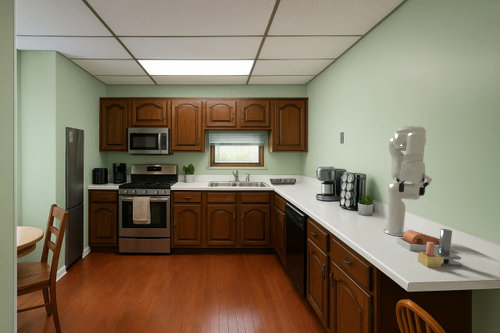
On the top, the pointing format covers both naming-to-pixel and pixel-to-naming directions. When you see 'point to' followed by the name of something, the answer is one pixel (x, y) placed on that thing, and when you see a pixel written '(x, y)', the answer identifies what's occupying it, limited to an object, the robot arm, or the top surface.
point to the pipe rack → (416, 246)
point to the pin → (430, 249)
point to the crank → (419, 238)
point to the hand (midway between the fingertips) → (411, 193)
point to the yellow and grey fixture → (441, 253)
